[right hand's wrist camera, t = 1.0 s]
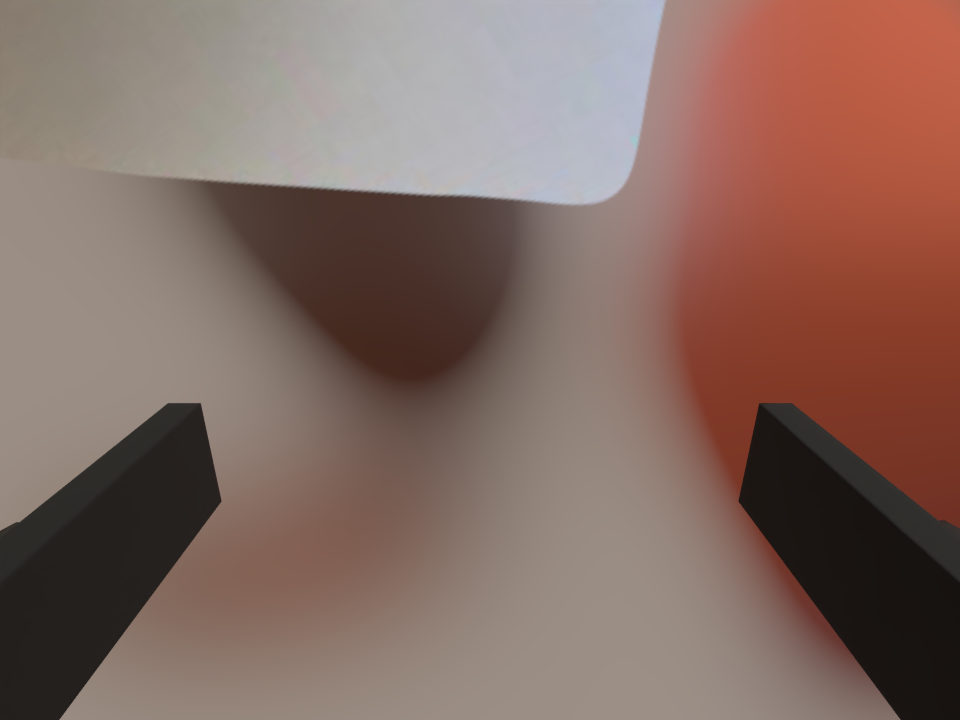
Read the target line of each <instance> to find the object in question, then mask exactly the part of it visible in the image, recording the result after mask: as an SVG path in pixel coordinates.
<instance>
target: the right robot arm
mask: <svg viewBox="0 0 960 720" xmlns="http://www.w3.org/2000/svg"><path fill="white" fill-rule="evenodd" d="M220 503H221V497H220V492H219V487H218V483H217V478H216V473H215V469H214V464H213V459H212V454H211V450H210V445H209V440H208V436H207V431H206V426H205V422H204V417H203V412H202V407H201V404H200V403H168V404H167V405H165V406H164V407H163V408H162V409H160V410H159V411H158V412H157V413H155V414H154V415H153V416H152V417H150V418H149V419H148V420H147V421H145V422H144V423H143V424H142V425H140V426H139V427H138V428H137V429H135V430H134V431H133V432H132V433H130V434H129V435H128V436H127V437H126V438H124V439H123V440H122V441H120V442H119V443H118V444H117V445H116V446H114V447H113V448H112V449H111V450H109V451H108V452H107V453H105V454H104V455H103V456H102V457H101V458H99V459H98V460H97V461H96V462H94V463H93V464H92V465H91V466H89V467H88V468H87V469H86V470H84V471H83V472H82V473H81V474H79V475H78V476H77V477H76V478H74V479H73V480H72V481H71V482H69V483H68V484H67V485H66V486H64V487H63V488H62V489H61V490H59V491H58V492H57V493H56V494H54V495H53V496H52V497H51V498H49V499H48V500H47V501H46V502H44V503H43V504H42V505H41V506H39V507H38V508H37V509H36V510H34V511H33V512H32V513H31V514H29V515H28V516H27V517H26V518H24V519H23V520H22V521H21V522H16V523H14V524H12V525H10V526H9V527H7V528H5V529H3V530H1V531H0V720H59V719H60V718H61V717H62V715H63V714H64V713H65V711H66V710H67V708H68V707H69V706H70V704H71V703H72V702H73V700H74V699H75V698H76V696H77V695H78V694H79V692H80V691H81V690H82V688H83V687H84V686H85V684H86V683H87V682H88V680H89V679H90V678H91V676H92V675H93V674H94V672H95V671H96V669H97V668H98V667H99V665H100V664H101V663H102V661H103V660H104V659H105V657H106V656H107V655H108V653H109V652H110V651H111V649H112V648H113V647H114V645H115V644H116V643H117V641H118V640H119V639H120V637H121V636H122V635H123V633H124V632H125V630H126V629H127V628H128V626H129V625H130V624H131V622H132V621H133V620H134V618H135V617H136V616H137V614H138V613H139V612H140V610H141V609H142V608H143V606H144V605H145V604H146V602H147V601H148V600H149V598H150V597H151V595H152V594H153V593H154V591H155V590H156V589H157V587H158V586H159V585H160V583H161V582H162V581H163V579H164V578H165V577H166V575H167V574H168V573H169V571H170V570H171V569H172V567H173V566H174V565H175V563H176V562H177V560H178V559H179V558H180V556H181V555H182V554H183V552H184V551H185V550H186V548H187V547H188V546H189V544H190V543H191V542H192V540H193V539H194V538H195V536H196V535H197V534H198V532H199V531H200V530H201V528H202V527H203V525H204V524H205V523H206V521H207V520H208V519H209V517H210V516H211V515H212V513H213V512H214V511H215V509H216V508H217V507H218V505H219V504H220ZM739 503H740V504H741V505H742V507H743V508H744V509H745V511H746V512H747V513H748V515H749V516H750V517H751V519H752V520H753V521H754V523H755V524H756V525H757V527H758V528H759V530H760V531H761V532H762V534H763V535H764V536H765V538H766V539H767V540H768V542H769V543H770V544H771V546H772V547H773V548H774V550H775V551H776V552H777V554H778V555H779V556H780V558H781V559H782V560H783V562H784V563H785V564H786V566H787V567H788V569H789V570H790V571H791V573H792V574H793V575H794V577H795V578H796V579H797V581H798V582H799V583H800V585H801V586H802V587H803V589H804V590H805V591H806V593H807V594H808V595H809V597H810V598H811V600H812V601H813V602H814V604H815V605H816V606H817V608H818V609H819V610H820V612H821V613H822V614H823V616H824V617H825V618H826V620H827V621H828V622H829V624H830V625H831V626H832V628H833V629H834V630H835V632H836V633H837V635H838V636H839V637H840V639H841V640H842V641H843V643H844V644H845V645H846V647H847V648H848V649H849V651H850V652H851V653H852V655H853V656H854V657H855V659H856V660H857V661H858V663H859V664H860V665H861V667H862V668H863V670H864V671H865V672H866V674H867V675H868V676H869V678H870V679H871V680H872V682H873V683H874V684H875V686H876V687H877V688H878V690H879V691H880V692H881V694H882V695H883V696H884V698H885V699H886V700H887V702H888V703H889V705H890V706H891V707H892V709H893V710H894V711H895V713H896V714H897V715H898V717H899V718H900V719H901V720H960V528H958V527H956V526H954V525H952V524H950V523H948V522H946V521H938V520H937V519H936V518H934V517H933V516H932V515H931V514H929V513H928V512H927V511H926V510H924V509H923V508H922V507H921V506H919V505H918V504H917V503H916V502H914V501H913V500H912V499H911V498H909V497H908V496H907V495H906V494H904V493H903V492H902V491H901V490H899V489H898V488H897V487H896V486H894V485H893V484H892V483H891V482H889V481H888V480H887V479H886V478H884V477H883V476H882V475H881V474H879V473H878V472H877V471H876V470H874V469H873V468H872V467H871V466H869V465H868V464H867V463H866V462H864V461H863V460H862V459H861V458H859V457H858V456H857V455H856V454H854V453H853V452H852V451H851V450H850V449H848V448H847V447H846V446H845V445H843V444H842V443H841V442H840V441H838V440H837V439H836V438H835V437H833V436H832V435H831V434H830V433H828V432H827V431H826V430H825V429H823V428H822V427H821V426H820V425H818V424H817V423H816V422H815V421H813V420H812V419H811V418H810V417H808V416H807V415H806V414H805V413H803V412H802V411H801V410H800V409H798V408H797V407H796V406H795V405H793V404H792V403H760V404H759V407H758V412H757V417H756V421H755V426H754V431H753V436H752V440H751V445H750V450H749V454H748V459H747V464H746V468H745V473H744V478H743V483H742V487H741V492H740V497H739Z"/></svg>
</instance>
